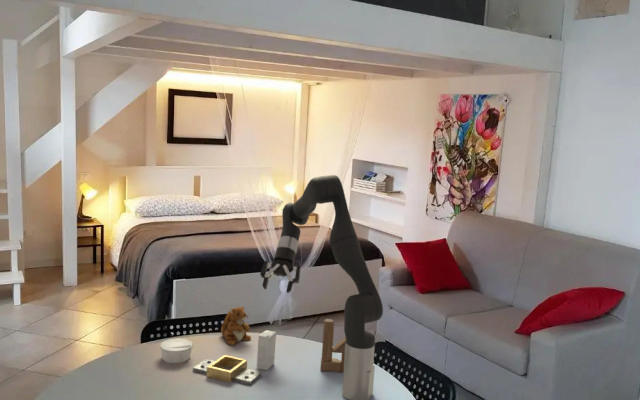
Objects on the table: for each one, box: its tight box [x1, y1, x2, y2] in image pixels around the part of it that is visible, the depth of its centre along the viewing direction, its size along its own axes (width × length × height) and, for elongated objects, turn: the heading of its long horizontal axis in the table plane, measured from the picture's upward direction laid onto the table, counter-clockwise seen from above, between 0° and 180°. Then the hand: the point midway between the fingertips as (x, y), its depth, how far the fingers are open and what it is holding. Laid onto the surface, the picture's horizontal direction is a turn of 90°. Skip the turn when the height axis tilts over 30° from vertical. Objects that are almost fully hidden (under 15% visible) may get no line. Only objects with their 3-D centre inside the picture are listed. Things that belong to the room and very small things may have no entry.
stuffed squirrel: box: [220, 306, 252, 346], centre depth 214 cm, size 10×14×13 cm
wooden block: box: [320, 318, 346, 374], centre depth 190 cm, size 4×11×18 cm, turn 89°
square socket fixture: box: [192, 354, 263, 386], centre depth 184 cm, size 22×11×4 cm, turn 69°
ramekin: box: [159, 337, 194, 364], centre depth 193 cm, size 11×11×5 cm
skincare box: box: [256, 329, 277, 371], centre depth 190 cm, size 6×4×12 cm
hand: (276, 290), depth 196 cm, fingers open, 8 cm apart
